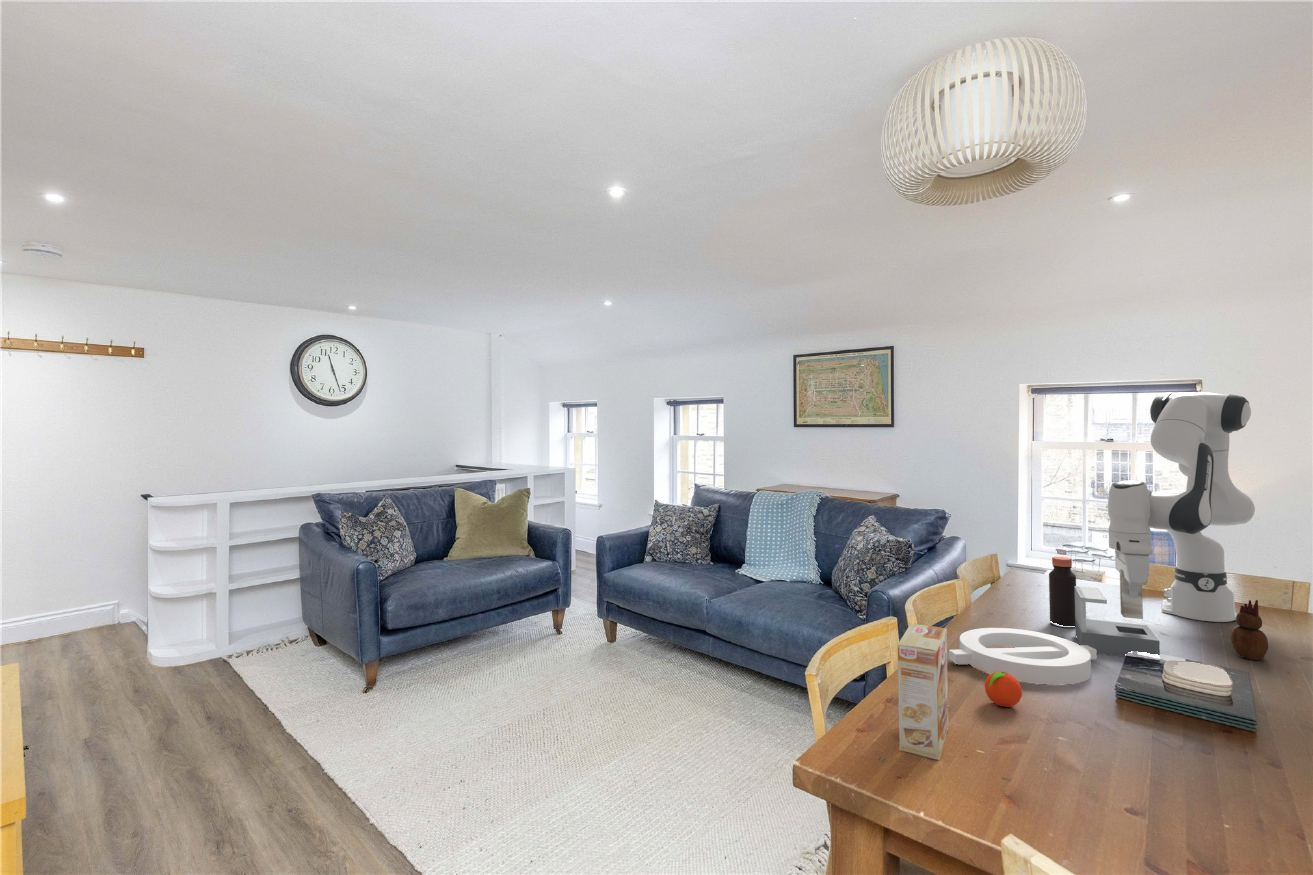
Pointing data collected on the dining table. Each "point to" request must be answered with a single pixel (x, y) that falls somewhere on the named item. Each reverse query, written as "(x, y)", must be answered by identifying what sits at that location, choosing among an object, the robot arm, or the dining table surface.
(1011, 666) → the ring with crossbar
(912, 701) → the coffeecake box
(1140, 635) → the socket block
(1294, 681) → the dining table surface
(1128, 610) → the peg
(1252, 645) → the wooden figurine
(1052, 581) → the bottle
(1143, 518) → the robot arm
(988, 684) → the clementine
